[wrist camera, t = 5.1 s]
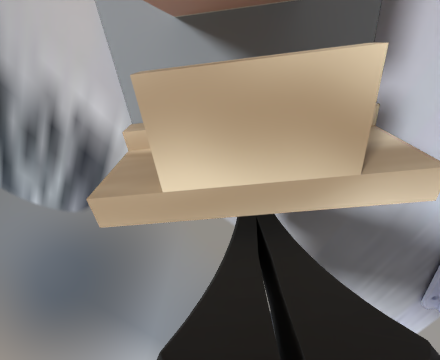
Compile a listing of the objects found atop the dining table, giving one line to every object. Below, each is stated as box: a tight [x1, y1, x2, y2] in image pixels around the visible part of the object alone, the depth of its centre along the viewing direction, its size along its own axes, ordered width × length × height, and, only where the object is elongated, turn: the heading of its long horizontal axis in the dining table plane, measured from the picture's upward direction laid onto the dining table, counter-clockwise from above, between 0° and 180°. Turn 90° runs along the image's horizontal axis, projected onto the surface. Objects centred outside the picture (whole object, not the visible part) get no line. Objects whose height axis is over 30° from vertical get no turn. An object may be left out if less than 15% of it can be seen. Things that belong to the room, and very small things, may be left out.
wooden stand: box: [87, 43, 440, 228], centre depth 9 cm, size 6×11×5 cm, turn 96°
